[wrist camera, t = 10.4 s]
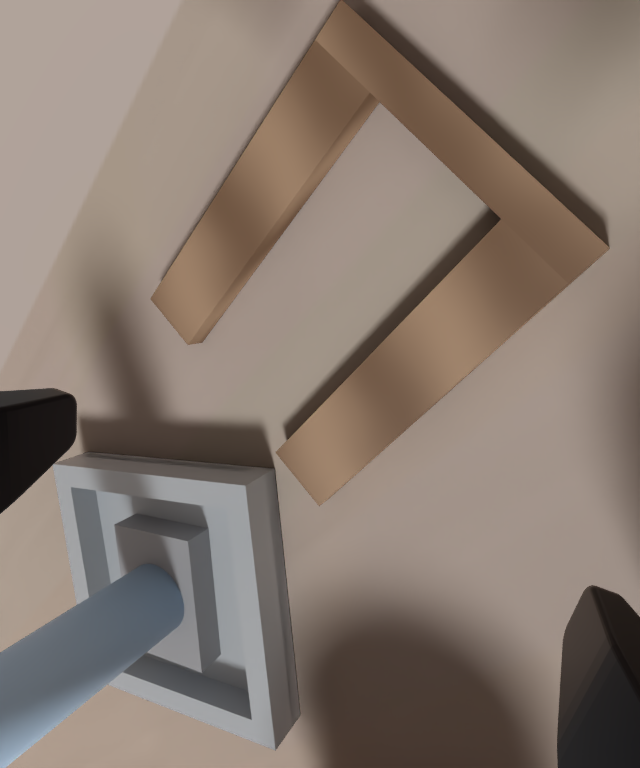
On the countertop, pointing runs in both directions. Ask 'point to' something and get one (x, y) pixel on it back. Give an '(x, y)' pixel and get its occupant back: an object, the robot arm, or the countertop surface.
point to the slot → (440, 307)
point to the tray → (230, 572)
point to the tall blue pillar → (113, 630)
